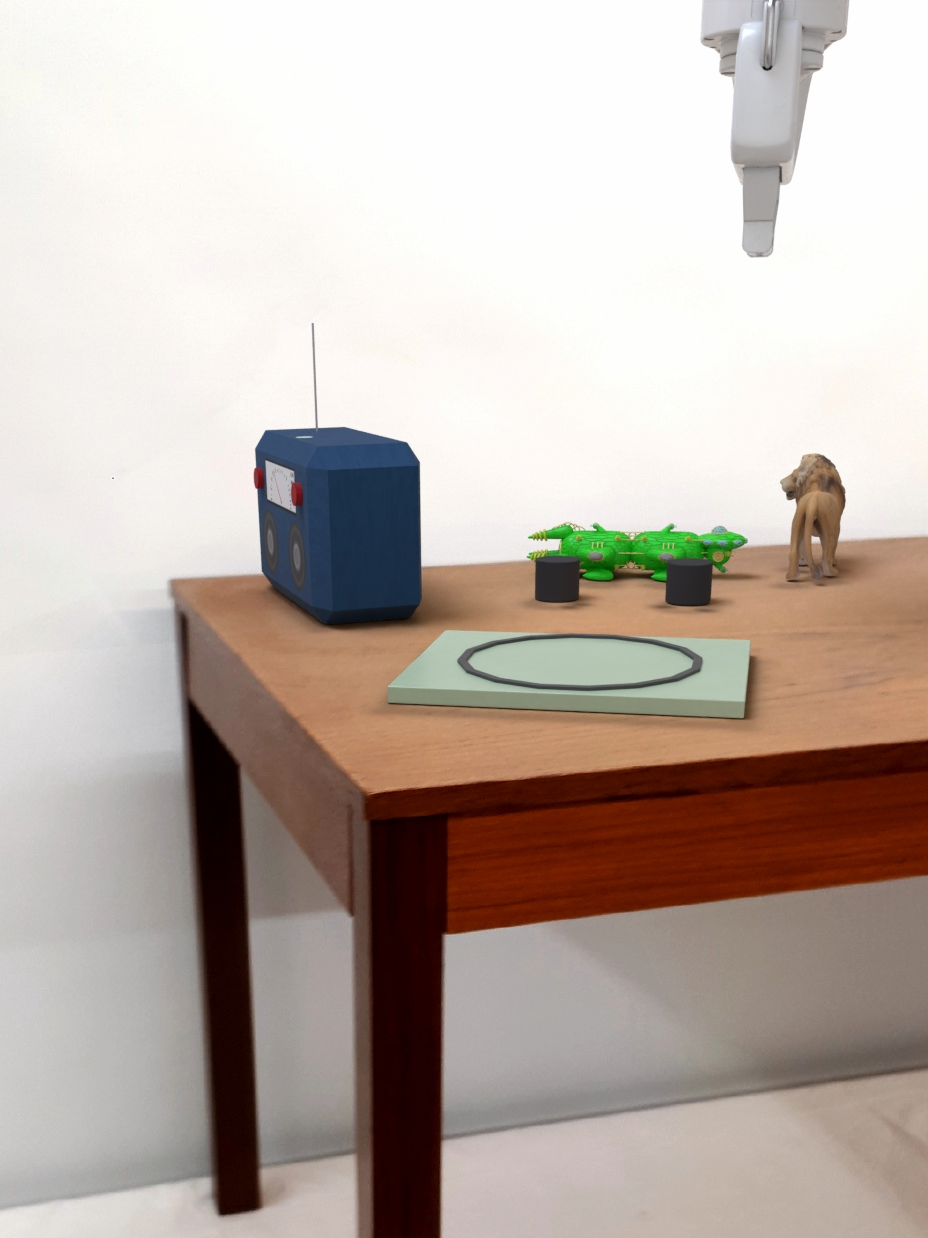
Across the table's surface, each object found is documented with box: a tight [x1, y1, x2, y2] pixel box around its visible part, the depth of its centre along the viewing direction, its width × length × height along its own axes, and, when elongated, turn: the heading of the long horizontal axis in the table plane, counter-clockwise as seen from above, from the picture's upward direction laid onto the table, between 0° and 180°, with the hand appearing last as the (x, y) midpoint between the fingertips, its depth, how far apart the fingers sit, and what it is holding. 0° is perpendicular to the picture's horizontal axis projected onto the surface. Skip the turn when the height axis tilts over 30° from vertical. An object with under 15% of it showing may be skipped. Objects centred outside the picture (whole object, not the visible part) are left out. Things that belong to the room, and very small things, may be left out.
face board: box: [387, 629, 752, 719], centre depth 89 cm, size 20×16×1 cm
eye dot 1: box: [534, 555, 581, 603], centre depth 113 cm, size 3×3×3 cm
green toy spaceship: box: [526, 521, 749, 582], centre depth 122 cm, size 7×18×4 cm, turn 80°
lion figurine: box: [779, 452, 847, 580], centre depth 122 cm, size 15×5×9 cm, turn 171°
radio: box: [253, 322, 423, 625], centre depth 110 cm, size 21×9×20 cm, turn 18°
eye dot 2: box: [664, 558, 714, 607], centre depth 111 cm, size 3×3×3 cm
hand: (757, 255), depth 95 cm, fingers open, 8 cm apart
